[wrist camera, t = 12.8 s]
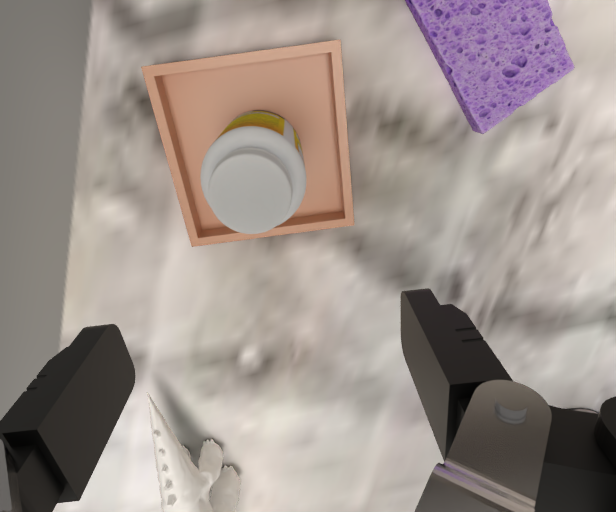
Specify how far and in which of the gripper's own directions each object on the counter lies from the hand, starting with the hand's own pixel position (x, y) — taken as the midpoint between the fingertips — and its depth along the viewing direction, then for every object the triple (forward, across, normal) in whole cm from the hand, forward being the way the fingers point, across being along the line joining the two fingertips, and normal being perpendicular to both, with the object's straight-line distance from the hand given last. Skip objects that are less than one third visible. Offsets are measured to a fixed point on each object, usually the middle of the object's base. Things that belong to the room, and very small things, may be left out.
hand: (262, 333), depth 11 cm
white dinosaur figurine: (+20, +13, +29) cm, 38 cm away
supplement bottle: (+19, +1, -1) cm, 19 cm away
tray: (+20, +1, -2) cm, 20 cm away
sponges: (+21, -14, -8) cm, 27 cm away
